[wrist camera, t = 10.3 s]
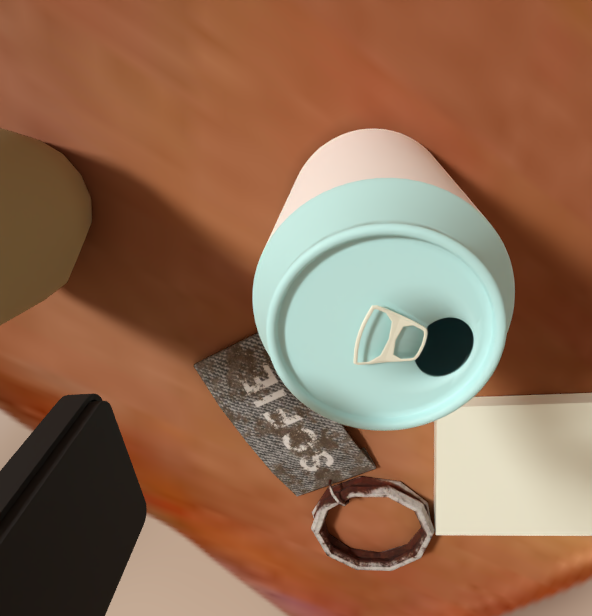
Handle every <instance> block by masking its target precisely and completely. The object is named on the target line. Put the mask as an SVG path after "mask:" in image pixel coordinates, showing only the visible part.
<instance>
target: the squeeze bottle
mask: <svg viewBox="0 0 592 616" xmlns="http://www.w3.org/2000/svg"><path fill="white" fill-rule="evenodd" d="M91 223H92V208H91V197H90V195H89V193H88V190H87V188H86V185H85V183H84V181H83V178H82V176H81V174H80V173H79V172H78V171H77V170H76V169H75V167H74V166H73V165H72V164H71V163H70V162H69V160H68V159H67V158H66V157H65V156H64V155H63V154H62V153H60V152H59V151H57V150H55V149H54V148H52V147H50V146H49V145H47V144H45V143H44V142H42V141H40V140H37V139H34V138H31V137H28V136H25V135H21V134H18V133H15V132H12V131H9V130H5V129H2V128H0V325H2V324H3V323H5V322H7V321H9V320H10V319H12V318H14V317H16V316H17V315H19V314H21V313H23V312H24V311H26V310H28V309H30V308H31V307H33V306H35V305H37V304H38V303H40V302H42V301H44V300H45V299H47V298H48V297H49V296H50V295H52V294H53V293H54V292H56V291H57V290H58V289H59V288H61V287H62V286H63V285H65V284H66V283H67V282H68V279H69V277H70V275H71V272H72V270H73V268H74V265H75V263H76V260H77V258H78V256H79V253H80V251H81V248H82V246H83V243H84V241H85V238H86V236H87V233H88V231H89V228H90V225H91Z"/></svg>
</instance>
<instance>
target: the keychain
mask: <svg viewBox="0 0 592 616" xmlns="http://www.w3.org/2000/svg"><path fill="white" fill-rule="evenodd" d="M194 367H195V369H196V370H197V372H198V373H199V375H200V377H201V378H202V380H203V381H204V383H205V384H206V386H207V387H208V389H209V391H210V392H211V394H212V395H213V397H214V398H215V400H216V402H217V403H218V405H219V406H220V408H221V409H222V410H223V412H224V413H225V414H226V416H227V417H228V418H229V420H230V421H231V422H232V423H233V425H234V426H235V427H236V429H237V430H238V431H239V433H240V434H241V435H242V436H243V438H244V439H245V440H246V442H247V443H248V444H249V445H250V446H251V448H252V449H253V450H254V451H255V452H256V454H257V455H258V456H259V457H260V458H261V460H262V461H263V462H264V463H265V464H266V466H267V467H268V468H269V469H270V470H271V472H272V473H273V474H274V475H275V476H276V477H277V478H279V479H280V480H281V481H282V482H283V483H284V484H285V485H286V486H287V487H288V488H289V489H290V490H291V491H292V492H293V493H294V494H295V495H296V496H300V495H303V494H305V493H308V492H311V491H314V490H317V489H319V488H322V487H325V486H329V488H327V490H326V491H325V493H324V494H323V496H322V497H321V499H320V501H319V502H318V504H317V505H316V507H315V508H314V510H313V511H312V514H313V517H314V521H313V524H312V527H311V529H312V531H313V532H314V534H315V536H316V537H317V539H318V541H319V543H320V544H321V546H322V548H323V549H324V551H325V553H326V554H327V556H329V557H331V558H333V559H336V560H338V561H340V562H342V563H344V564H346V565H348V566H350V567H352V568H354V569H356V570H384V571H392V570H395V569H397V568H399V567H401V566H404V565H406V564H408V563H410V562H413V561H415V560H417V559H419V558H421V557H422V555H423V553H424V551H425V549H426V547H427V545H428V543H429V541H430V539H431V538H432V536H433V534H434V532H435V529H434V527H433V525H432V522H431V518H430V512H429V506H428V503H427V502H426V501H425V500H424V499H422V498H421V497H420V496H419V495H417V494H416V493H415V492H413V491H412V490H411V489H409V488H408V487H407V486H405V485H404V484H403V483H401V482H400V481H394V480H387V479H380V478H372V477H365V476H360V477H357V478H354V479H351V480H349V481H346V482H343V483H340V484H337V485H334V486H331V484H333V483H336V482H339V481H342V480H345V479H348V478H350V477H353V476H356V475H359V474H362V473H364V472H367V471H370V470H373V469H376V466H375V464H374V462H373V461H372V459H371V457H370V455H369V454H368V452H367V451H366V449H365V448H362V449H360V448H359V447H358V446H357V444H356V443H355V442H354V441H353V439H352V438H351V437H350V435H349V434H348V433H347V431H346V430H345V428H344V427H343V426H342V424H340V423H337V422H334V421H332V420H330V419H327V418H325V417H323V416H321V415H320V414H318V413H316V412H314V411H313V410H311V409H310V408H308V407H307V406H306V405H304V404H303V403H302V402H301V401H299V400H298V399H297V398H296V397H295V396H294V395H293V394H292V393H291V392H290V391H289V389H288V388H287V387H286V386H285V385H284V383H283V382H282V380H281V379H280V377H279V376H278V374H277V372H276V370H275V368H274V366H273V363H272V361H271V358H270V356H269V354H268V353H267V351H266V349H265V347H264V345H263V343H262V341H261V338H260V336H259V333H256V334H254V335H252V336H250V337H248V338H246V339H244V340H242V341H240V342H238V343H236V344H234V345H232V346H230V347H228V348H226V349H224V350H222V351H220V352H218V353H216V354H214V355H212V356H210V357H208V358H206V359H204V360H202V361H200V362H198V363H196V364H195V365H194ZM352 497H388V498H390V499H392V500H394V501H396V502H398V503H400V504H402V505H404V506H406V507H408V508H410V509H412V510H414V511H415V513H416V515H417V517H418V520H419V522H420V524H421V528H420V529H419V531H418V532H417V533H416V534H415V535H414V537H413V538H412V539H411V540H410V542H409V543H408V544H406V545H403V546H399V547H396V548H393V549H389V550H386V551H383V552H374V551H367V550H360V549H353V548H349V547H348V546H346V545H345V544H343V543H342V542H340V541H339V540H337V539H336V538H335V537H333V536H332V535H330V534H329V533H328V530H327V526H326V523H325V519H326V516H327V513H328V510H329V509H331V508H333V507H335V506H337V505H339V504H341V505H343V506H346V505H347V504H348V503H349V499H350V498H352ZM344 501H346V502H344ZM343 502H344V503H343Z"/></svg>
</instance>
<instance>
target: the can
mask: <svg viewBox="0 0 592 616" xmlns="http://www.w3.org/2000/svg"><path fill="white" fill-rule="evenodd" d="M514 300H515V283H514V275H513V269H512V265H511V261H510V258H509V255H508V253H507V250H506V248H505V246H504V244H503V242H502V240H501V238H500V237H499V235H498V233H497V232H496V231H495V229H494V228H493V227H492V225H491V224H490V223H489V221H488V220H487V219H486V218H485V217H484V216H483V214H482V213H481V212H480V211H479V210H478V208H477V207H476V206H475V205H474V204H473V203H472V201H471V200H470V199H469V198H468V197H467V195H466V194H465V193H464V192H463V191H462V190H461V188H460V187H459V186H458V185H457V184H456V183H455V181H454V180H453V179H452V178H451V177H450V175H449V174H448V173H447V172H446V171H445V170H444V168H443V167H442V166H441V165H440V164H439V162H438V161H437V160H436V159H435V158H434V157H433V155H432V154H431V153H430V152H429V151H428V150H427V149H426V148H425V147H423V146H422V145H421V144H420V143H418V142H417V141H415V140H414V139H412V138H410V137H408V136H406V135H403V134H401V133H398V132H395V131H391V130H385V129H361V130H356V131H352V132H348V133H345V134H342V135H340V136H338V137H336V138H334V139H332V140H330V141H329V142H327V143H326V144H324V145H323V146H322V147H320V148H319V149H318V150H317V151H316V152H315V153H314V154H313V155H312V156H311V157H310V158H309V159H308V161H307V162H306V163H305V165H304V166H303V168H302V169H301V171H300V173H299V175H298V177H297V179H296V181H295V183H294V186H293V188H292V190H291V192H290V194H289V196H288V199H287V201H286V203H285V205H284V207H283V209H282V212H281V214H280V216H279V218H278V220H277V222H276V225H275V227H274V229H273V231H272V233H271V235H270V237H269V240H268V242H267V244H266V246H265V248H264V250H263V253H262V255H261V257H260V260H259V263H258V265H257V269H256V273H255V277H254V283H253V297H252V302H253V313H254V318H255V323H256V327H257V330H258V333H259V336H260V338H261V341H262V343H263V345H264V347H265V349H266V351H267V353H268V354H269V356H270V358H271V361H272V363H273V366H274V368H275V370H276V372H277V374H278V376H279V377H280V379H281V380H282V382H283V383H284V385H285V386H286V387H287V388H288V389H289V391H290V392H291V393H292V394H293V395H294V396H295V397H296V398H297V399H298V400H299V401H301V402H302V403H303V404H304V405H306V406H307V407H308V408H310V409H311V410H313V411H314V412H316V413H318V414H320V415H321V416H323V417H325V418H327V419H330V420H332V421H334V422H337V423H340V424H343V425H347V426H350V427H355V428H360V429H367V430H381V431H387V430H401V429H408V428H413V427H417V426H421V425H425V424H428V423H430V422H433V421H436V420H438V419H440V418H443V417H445V416H447V415H449V414H450V413H452V412H454V411H456V410H457V409H459V408H460V407H462V406H463V405H464V404H466V403H467V402H468V401H469V400H471V399H472V398H473V397H474V396H475V395H476V394H477V393H478V392H479V391H480V390H481V389H482V388H483V387H484V385H485V384H486V383H487V382H488V380H489V379H490V377H491V376H492V374H493V373H494V371H495V369H496V367H497V365H498V363H499V361H500V358H501V356H502V353H503V350H504V346H505V341H506V336H507V332H508V330H509V326H510V323H511V320H512V315H513V310H514Z"/></svg>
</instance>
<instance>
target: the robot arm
mask: <svg viewBox="0 0 592 616" xmlns="http://www.w3.org/2000/svg"><path fill="white" fill-rule="evenodd" d="M145 518H146V502H145V499H144V496H143V494H142V491H141V488H140V485H139V483H138V480H137V477H136V474H135V471H134V469H133V466H132V463H131V460H130V458H129V455H128V452H127V449H126V446H125V444H124V441H123V438H122V435H121V433H120V430H119V427H118V424H117V422H116V419H115V416H114V413H113V410H112V408H111V406H110V404H109V403H108V402H107V401H102V399H101V397H100V396H99V395H97V394H79V395H66V396H63V397H62V398H61V399H60V400H59V401H58V402H57V403H56V405H55V406H54V407H53V408H52V409H51V411H50V412H49V413H48V414H47V415H46V417H45V418H44V419H43V420H42V421H41V423H40V424H39V425H38V426H37V427H36V429H35V430H34V431H33V432H32V433H31V435H30V436H29V437H28V438H27V440H26V441H25V442H24V443H23V444H22V445H21V447H20V448H19V449H18V451H17V452H16V453H15V454H14V455H13V456H12V458H11V459H10V460H9V461H8V462H7V464H6V465H5V466H4V467H3V468H2V470H1V471H0V616H105V614H106V612H107V609H108V607H109V605H110V602H111V600H112V598H113V595H114V593H115V591H116V588H117V586H118V584H119V581H120V579H121V576H122V574H123V572H124V569H125V567H126V565H127V562H128V560H129V558H130V555H131V553H132V551H133V548H134V546H135V544H136V541H137V539H138V536H139V534H140V532H141V529H142V527H143V525H144V522H145Z"/></svg>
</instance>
